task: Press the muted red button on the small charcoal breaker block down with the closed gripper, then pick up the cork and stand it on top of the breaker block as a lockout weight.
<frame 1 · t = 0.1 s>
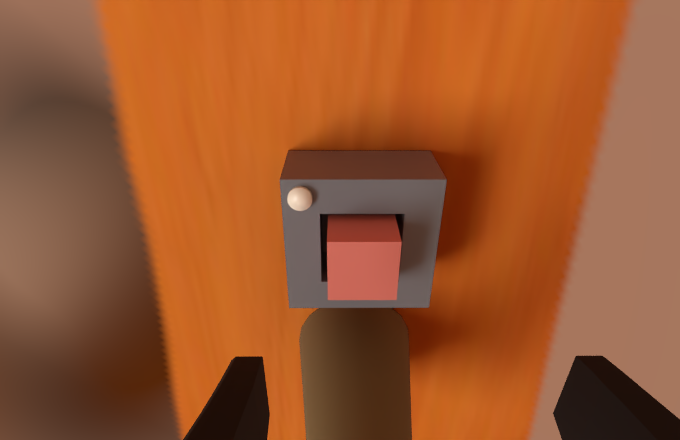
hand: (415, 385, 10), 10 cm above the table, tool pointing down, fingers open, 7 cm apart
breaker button: (361, 256, 16), point 3 cm above the table, slide at 0.0 cm
breaker block: (357, 213, 19), on the table
cork: (354, 337, 23), on the table
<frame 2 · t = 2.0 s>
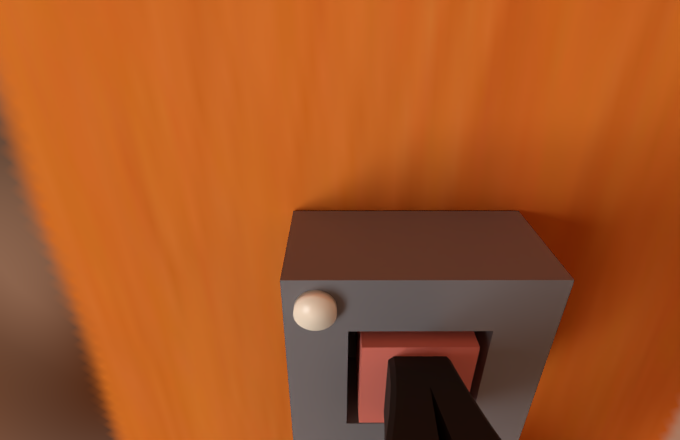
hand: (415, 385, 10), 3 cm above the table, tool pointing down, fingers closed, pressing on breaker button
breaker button: (409, 354, 11), point 2 cm above the table, slide at 1.3 cm, touching gripper
breaker block: (398, 298, 13), on the table
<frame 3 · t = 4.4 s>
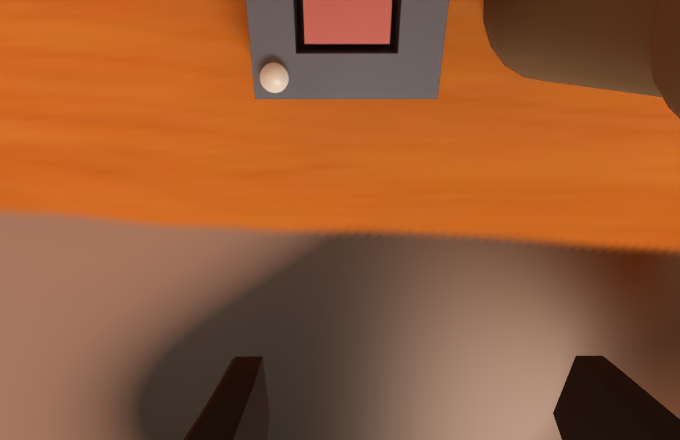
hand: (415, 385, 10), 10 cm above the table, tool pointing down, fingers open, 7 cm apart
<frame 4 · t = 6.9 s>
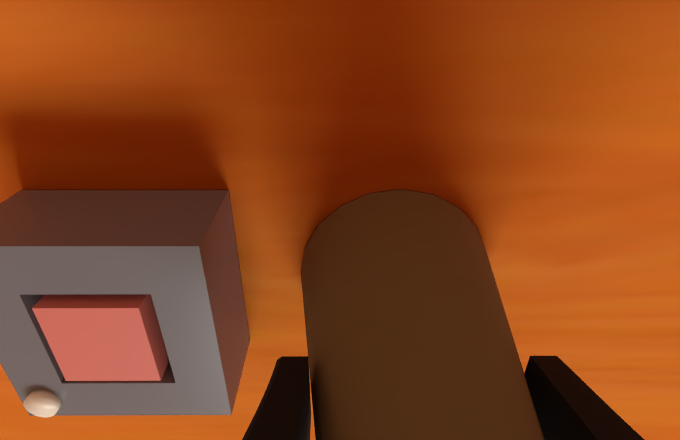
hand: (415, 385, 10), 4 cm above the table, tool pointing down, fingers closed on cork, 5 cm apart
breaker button: (117, 319, 12), point 2 cm above the table, slide at 1.3 cm
breaker block: (148, 273, 14), on the table
cork: (392, 269, 14), on the table, touching gripper
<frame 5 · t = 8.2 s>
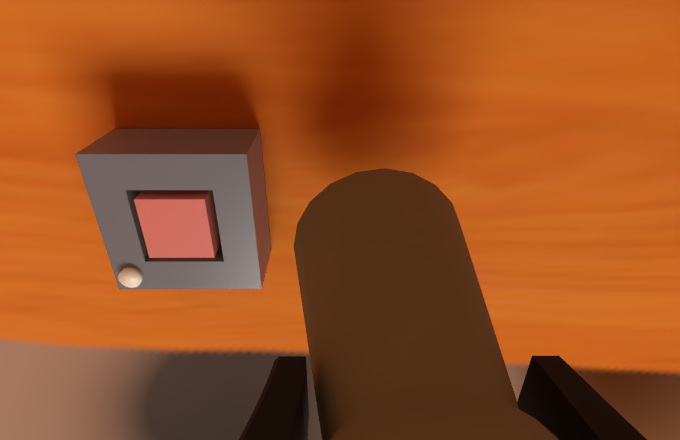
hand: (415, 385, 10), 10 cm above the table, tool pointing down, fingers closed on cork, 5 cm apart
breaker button: (184, 217, 17), point 2 cm above the table, slide at 1.3 cm
breaker block: (199, 193, 19), on the table
cork: (376, 243, 15), point 4 cm above the table, touching gripper
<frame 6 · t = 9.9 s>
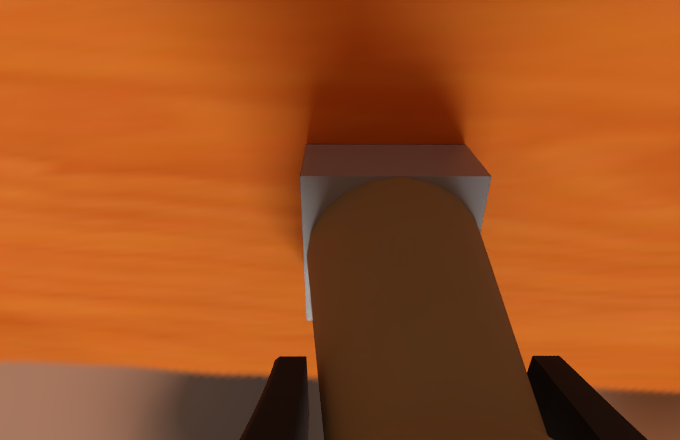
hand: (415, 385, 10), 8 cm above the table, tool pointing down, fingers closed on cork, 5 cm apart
breaker block: (381, 214, 17), on the table
cork: (393, 256, 15), point 3 cm above the table, touching breaker block, gripper
when the fingers open (8 cm above the table, at t = 9.9 s): cork stays where it is, resting on breaker block.
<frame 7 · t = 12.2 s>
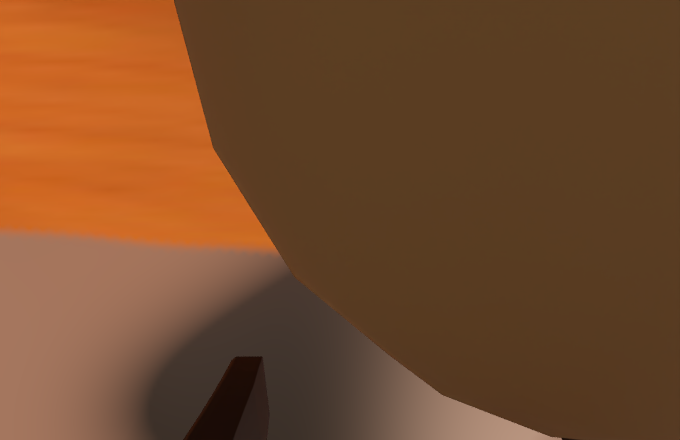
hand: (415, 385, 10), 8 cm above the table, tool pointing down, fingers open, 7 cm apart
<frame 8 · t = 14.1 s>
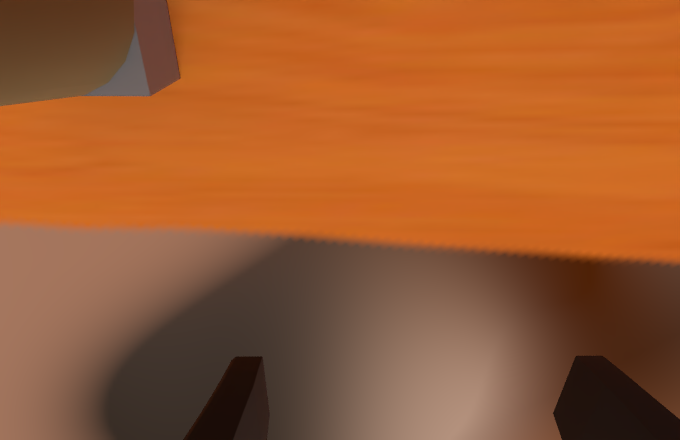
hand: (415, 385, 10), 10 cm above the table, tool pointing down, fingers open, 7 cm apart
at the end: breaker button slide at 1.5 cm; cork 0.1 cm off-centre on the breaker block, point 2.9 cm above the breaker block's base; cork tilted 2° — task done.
